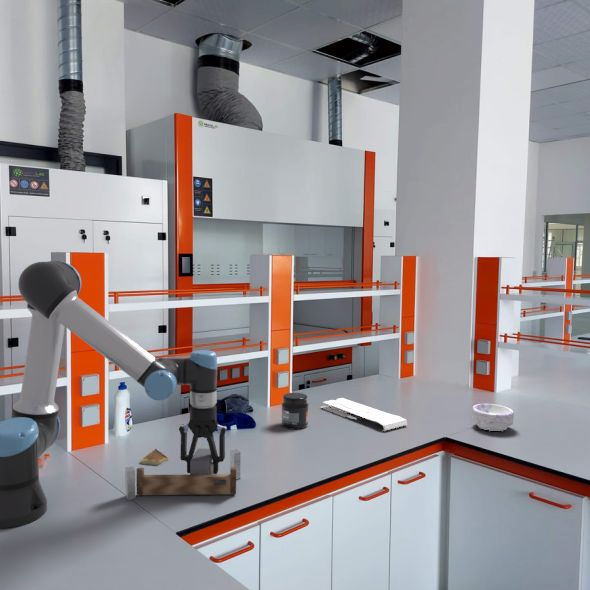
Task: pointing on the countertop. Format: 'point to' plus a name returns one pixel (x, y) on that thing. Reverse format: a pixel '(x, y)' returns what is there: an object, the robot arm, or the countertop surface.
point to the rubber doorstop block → (201, 462)
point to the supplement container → (294, 410)
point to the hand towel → (365, 413)
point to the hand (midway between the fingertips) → (202, 483)
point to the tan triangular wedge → (154, 458)
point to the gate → (186, 483)
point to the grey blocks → (131, 474)
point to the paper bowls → (492, 416)
